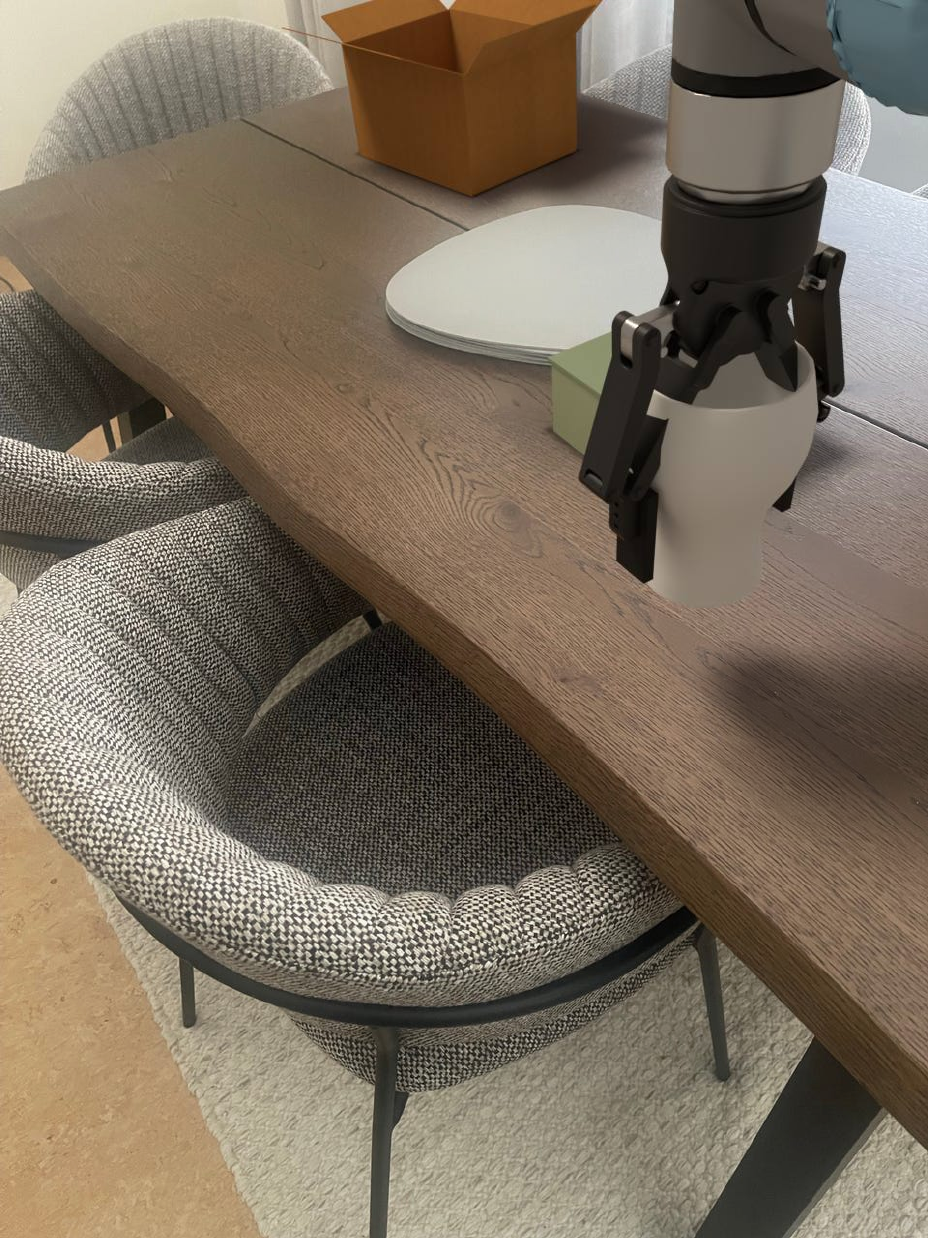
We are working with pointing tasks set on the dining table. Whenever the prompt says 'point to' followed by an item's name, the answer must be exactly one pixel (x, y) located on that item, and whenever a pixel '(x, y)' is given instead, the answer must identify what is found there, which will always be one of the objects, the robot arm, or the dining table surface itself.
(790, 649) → the dining table surface
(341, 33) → the box
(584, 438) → the green flat-topped block
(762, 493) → the cup
